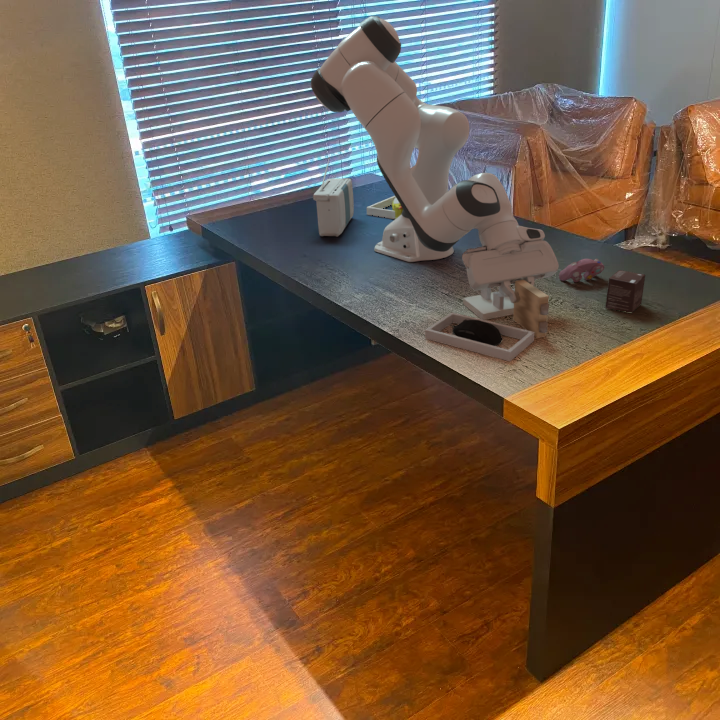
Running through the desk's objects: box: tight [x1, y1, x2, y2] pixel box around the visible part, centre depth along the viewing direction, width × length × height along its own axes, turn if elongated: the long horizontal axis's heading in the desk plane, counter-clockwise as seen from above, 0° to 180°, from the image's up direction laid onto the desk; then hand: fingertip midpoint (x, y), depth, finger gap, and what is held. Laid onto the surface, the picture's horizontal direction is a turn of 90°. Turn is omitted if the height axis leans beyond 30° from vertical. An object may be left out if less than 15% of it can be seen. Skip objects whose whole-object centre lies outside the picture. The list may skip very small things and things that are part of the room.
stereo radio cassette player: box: [312, 156, 355, 238], centre depth 218 cm, size 21×8×20 cm, turn 170°
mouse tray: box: [424, 311, 535, 362], centre depth 146 cm, size 20×11×2 cm, turn 52°
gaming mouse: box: [449, 319, 503, 347], centre depth 149 cm, size 6×15×4 cm, turn 37°
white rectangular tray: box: [366, 195, 396, 220], centre depth 232 cm, size 26×21×2 cm
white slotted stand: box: [462, 286, 515, 321], centre depth 160 cm, size 10×14×4 cm
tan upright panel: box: [512, 280, 550, 339], centre depth 148 cm, size 11×2×9 cm, turn 18°
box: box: [604, 269, 646, 313], centre depth 156 cm, size 6×6×7 cm
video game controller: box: [558, 258, 605, 283], centre depth 171 cm, size 10×5×7 cm, turn 106°
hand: (523, 300), depth 151 cm, fingers closed on tan upright panel, 2 cm apart
